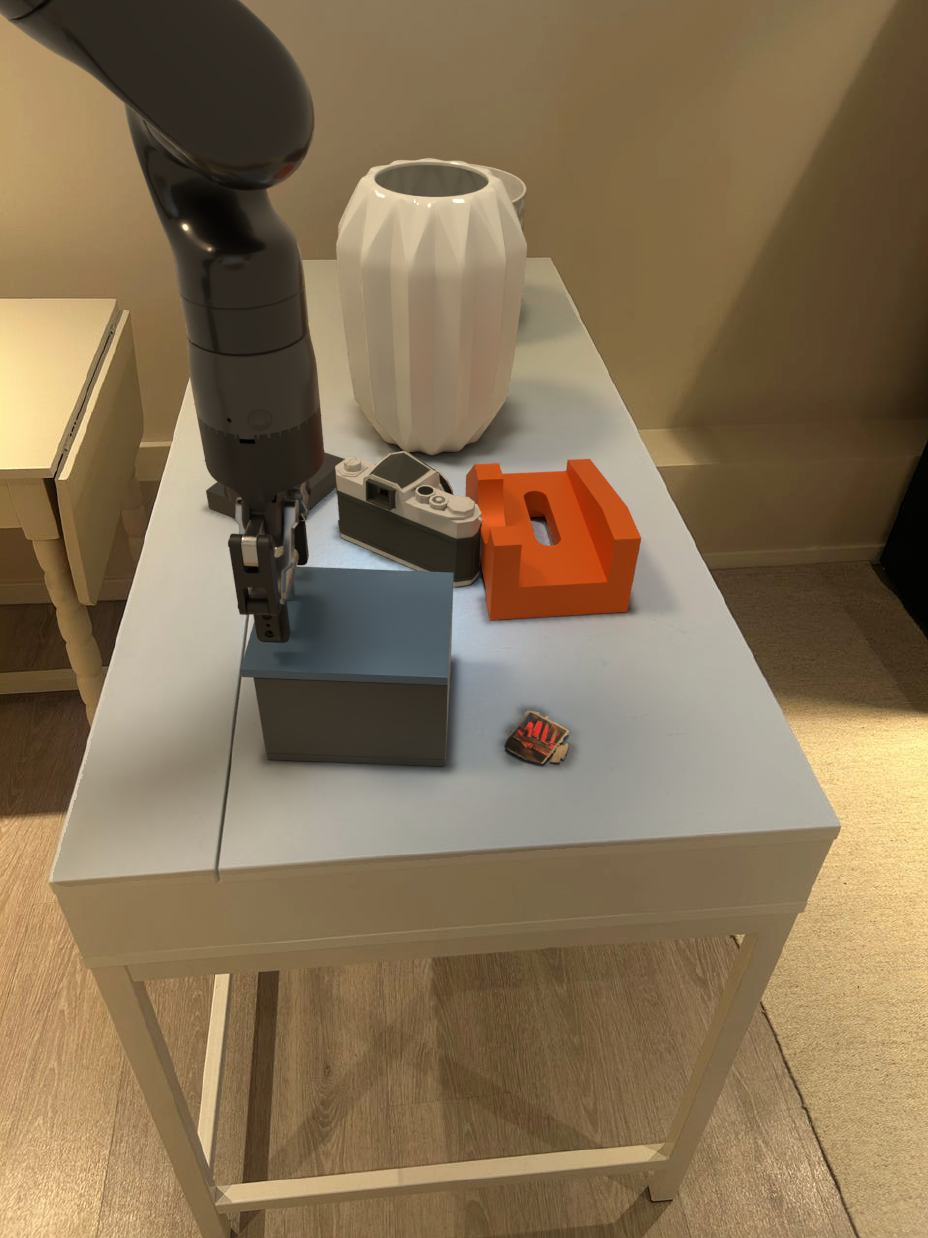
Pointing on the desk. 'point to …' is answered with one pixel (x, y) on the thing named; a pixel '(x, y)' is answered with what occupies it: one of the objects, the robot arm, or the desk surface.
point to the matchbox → (537, 738)
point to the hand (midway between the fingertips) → (284, 599)
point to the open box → (354, 720)
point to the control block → (319, 483)
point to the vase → (430, 300)
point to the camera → (409, 515)
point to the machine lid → (360, 627)
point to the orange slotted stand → (581, 531)
